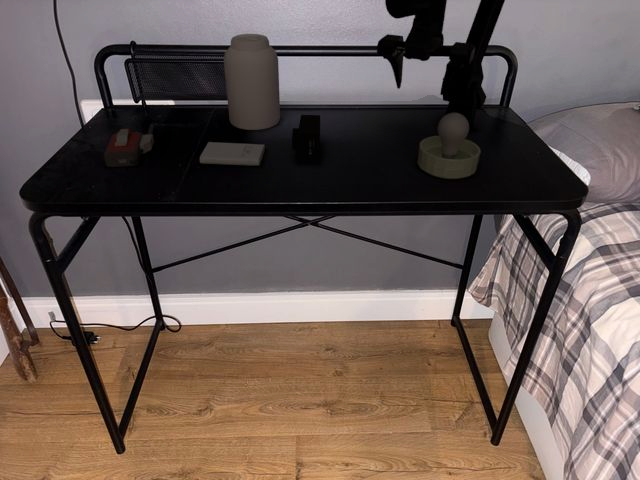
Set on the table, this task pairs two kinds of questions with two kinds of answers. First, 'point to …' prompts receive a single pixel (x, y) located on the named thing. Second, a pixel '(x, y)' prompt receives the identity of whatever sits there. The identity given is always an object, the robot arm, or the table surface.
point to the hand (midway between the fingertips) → (420, 91)
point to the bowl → (448, 168)
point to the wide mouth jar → (252, 82)
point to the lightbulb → (452, 133)
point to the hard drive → (232, 154)
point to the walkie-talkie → (128, 147)
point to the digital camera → (307, 139)
